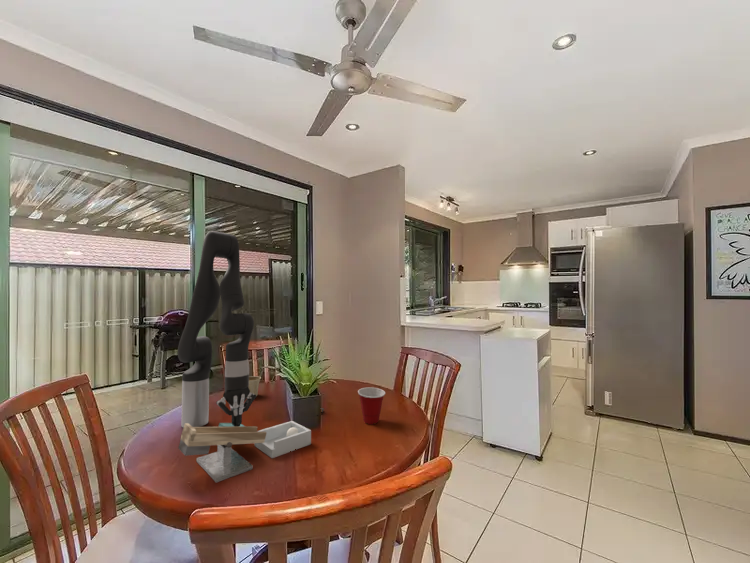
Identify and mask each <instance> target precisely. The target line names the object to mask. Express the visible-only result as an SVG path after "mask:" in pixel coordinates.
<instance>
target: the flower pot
mask: <svg viewBox="0 0 750 563" xmlns="http://www.w3.org/2000/svg"><path fill="white" fill-rule="evenodd" d="M261 379H262V377H261V376H257V375H256V376H255V375H253V376H252V375H249V389H250V392H251V393H253V394H255V395H256V397H257V396H258V395H259V393H258V392H259V386H260V382H261Z"/></svg>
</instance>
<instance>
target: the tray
mask: <svg viewBox="0 0 750 563" xmlns="http://www.w3.org/2000/svg"><path fill="white" fill-rule="evenodd" d="M292 427H294V428H296V429H297V430H298V432H299V433H297V434H294V435H291V436H288V437H287V431H288V430H289V429H290V428H292ZM257 432H267V433H266V437H265V441H264V443H253V444H254V447H255V448H257V449H258V450H260V451H261V452H262V453H263V454H265V455H266V456H268V457H269V458H271V459H274V458H277V457H280V456H283V455H285V454H288V453H290V451H291V452H293V451H296V450H298V449H301V448H304V447H308V446H310V445H311V444H312V430H311V429H310V428H308V427H305V426H304V425H301V424H299V423H297V422H296V421H293V420H290V421H287V422H283V423H280V424H276V425H273V426H270V427H266V428H263V429H260V430H257ZM295 449H296V450H295Z"/></svg>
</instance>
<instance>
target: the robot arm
mask: <svg viewBox="0 0 750 563" xmlns="http://www.w3.org/2000/svg"><path fill="white" fill-rule="evenodd" d="M215 258H219V259H226V260H227V264H228V265H227V269H226V271H225V273H224V275H223V276H222V279H221V281H220V284H219V282H218V279H217V276H216V274H215V271H214V262H215ZM199 262H200V263H199V269H198V275H197V278H196V282H195V286H194V288H193V291H192V292H193V293H192V298H191V301H190V307H189V310H188V314H187V319H186V322H185V326H184V327H183V330H182V333H181V336H180V339H179V342H178V347H177V358H178V360H179V361H180V362H181V363H184V364H187V363H193V362H195V363H194V364H193V365H192V366H191V367H190V368H188V369H187V370H185V371H184V372H182V376H181V377H182V379H181V380H182V382H181V416H180V417H181V419H180V420H181V421H180V423H181V424H180V426H181V428H182V429H183V428H184V424H185V423H189V424H190V425H191V426H192V427H204V426H205V425H207V424H208V423H209V413H210V411H209V409H210V407H209V406H210V403H209V402H210V373H211V370H212V357H213V345H212V344H213V343H212V340H211V339H210V337H209V336H198V335H199V333H200V331H201V329H202V328H203V326H205V324H206V323H207V322H209V320H210V319H211V317H212V316H213V315H214V314H215V313H216V311H217V309H218V306H219V304H220V303H219V302H220V300H221V304H222V305H221V316H220V321H219V330H220V331H221V333H223V335H225V336H235V335H239V336H238V338H237V339H236V340H233V341H230V342H228V343H226V346H225V364H224V393H223V394H222V396H223V397H221V399H219V400H217V401H216V406H218V407H219V408H220V409H221V410H222V412H224V413H225V414H226V415H228V416H231V423H232V425H234V426H240V424H242V423H243V413H245V412H247V411H249V409H250V407H251V405H252V404H253V403H254V400H255V399H256V398H257V396H256V395H255V394H253V393H251V392H250V389H249V377H250V364H249V346H250V341H251V337H252V334H253V331H254V328H255V327H254V326H255V320H254V317H253V316H252V315H251V314H250V313H247V312H242V313H233V312H232V311H237V310H239V309H241V308H243V306H245V299H244V294H243V289H242V283H241V272H240V271H241V267H240V266H241V264H240V263H241V261H240V243H239V240H238V238H237V237H236V236H235V235H234V234H230V233H225V232H221V231H215V230H209V231H208V232H207V233H206V234H205V237H204V238H203V242H202V250H201V255H200V261H199ZM226 404H228V405H229V407H230V409H229V407H228V406H227V405H226Z"/></svg>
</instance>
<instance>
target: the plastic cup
mask: <svg viewBox="0 0 750 563" xmlns="http://www.w3.org/2000/svg"><path fill="white" fill-rule="evenodd" d="M357 394H358V396H359V400H360V407H361V413H362V418H363V422H365V423H364V424H366V423H368V424H367V425H374V424H373V423H377V422H378V421H380V415H381V410H382V407H383V406H382V405H383V400H384V398H385V395H386V391H385V390H383V389H381V388H378V387H373V386H372V387H371V386H370V387H362V388H359V389H358V390H357ZM378 423H379V422H378ZM378 423H377V424H378Z"/></svg>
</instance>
